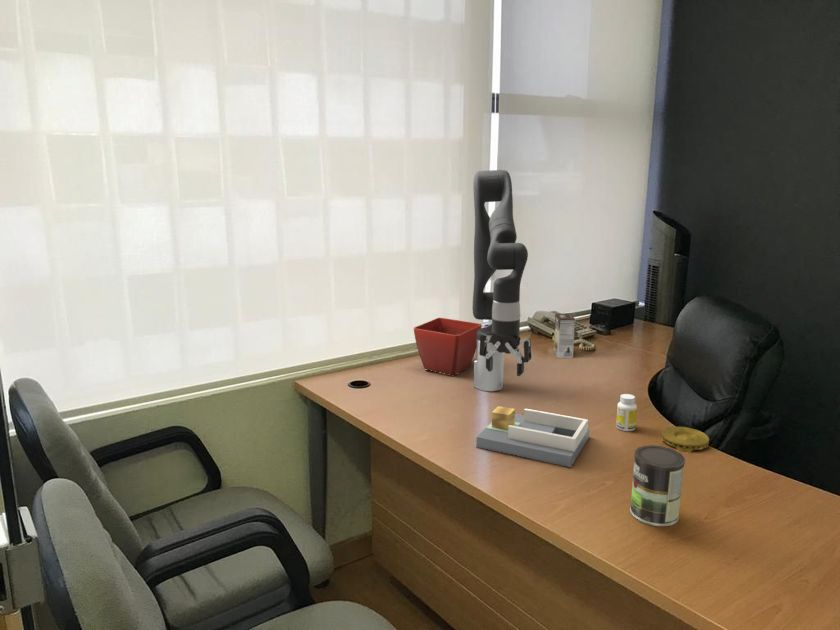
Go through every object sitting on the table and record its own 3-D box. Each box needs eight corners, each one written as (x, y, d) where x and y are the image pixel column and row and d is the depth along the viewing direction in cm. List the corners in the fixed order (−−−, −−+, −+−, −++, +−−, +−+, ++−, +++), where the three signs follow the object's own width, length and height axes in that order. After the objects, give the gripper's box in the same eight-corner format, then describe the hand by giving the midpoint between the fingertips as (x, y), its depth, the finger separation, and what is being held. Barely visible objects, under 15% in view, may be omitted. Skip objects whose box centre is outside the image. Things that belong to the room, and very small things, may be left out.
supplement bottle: (635, 425, 185) (637, 394, 182) (635, 432, 180) (637, 400, 177) (616, 423, 187) (618, 392, 184) (615, 430, 182) (617, 398, 179)
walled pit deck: (476, 447, 172) (476, 425, 170) (502, 420, 189) (502, 400, 188) (570, 467, 160) (572, 443, 159) (589, 437, 177) (590, 415, 176)
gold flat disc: (652, 438, 177) (652, 431, 176) (684, 430, 182) (684, 423, 181) (685, 456, 166) (685, 448, 166) (718, 447, 171) (719, 440, 170)
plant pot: (482, 366, 239) (482, 323, 235) (457, 381, 223) (458, 335, 219) (439, 358, 249) (438, 317, 245) (412, 372, 233) (412, 328, 229)
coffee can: (641, 528, 134) (646, 468, 130) (622, 502, 144) (626, 446, 140) (688, 525, 135) (694, 465, 131) (666, 500, 145) (671, 443, 141)
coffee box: (553, 351, 256) (554, 313, 252) (568, 351, 256) (570, 313, 252) (557, 358, 247) (559, 318, 243) (573, 358, 247) (575, 318, 243)
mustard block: (491, 427, 177) (491, 412, 176) (497, 420, 181) (498, 405, 180) (508, 430, 175) (508, 415, 174) (514, 423, 179) (514, 408, 178)
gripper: (476, 316, 170) (475, 373, 174) (526, 322, 164) (524, 381, 168) (486, 310, 177) (485, 365, 181) (535, 316, 170) (533, 372, 174)
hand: (504, 373), depth 174 cm, fingers open, 8 cm apart
